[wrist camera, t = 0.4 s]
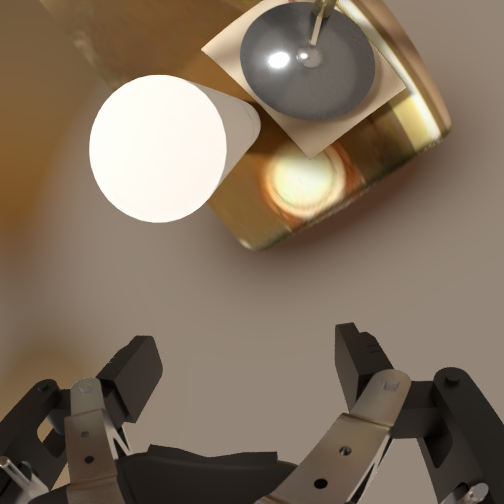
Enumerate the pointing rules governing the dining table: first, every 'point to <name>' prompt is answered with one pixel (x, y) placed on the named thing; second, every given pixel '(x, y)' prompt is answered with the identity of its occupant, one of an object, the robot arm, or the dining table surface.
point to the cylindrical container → (168, 145)
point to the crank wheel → (307, 60)
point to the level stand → (300, 131)
